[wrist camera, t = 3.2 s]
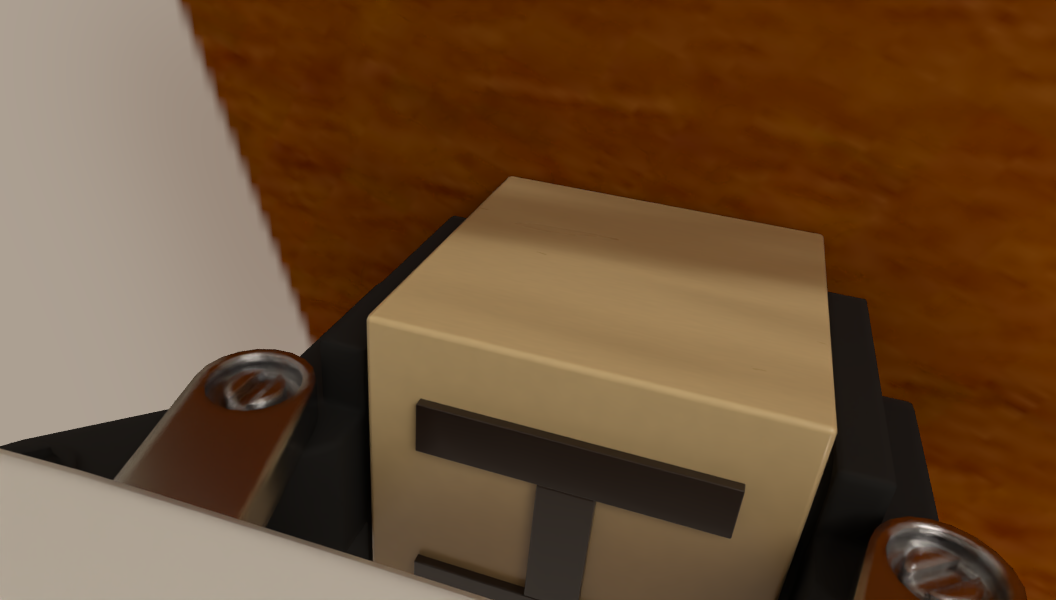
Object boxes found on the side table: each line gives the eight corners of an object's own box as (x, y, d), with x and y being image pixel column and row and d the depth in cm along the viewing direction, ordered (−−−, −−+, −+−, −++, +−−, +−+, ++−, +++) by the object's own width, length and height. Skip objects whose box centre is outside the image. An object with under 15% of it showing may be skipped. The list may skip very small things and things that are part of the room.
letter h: (508, 174, 11) (357, 321, 7) (825, 233, 10) (840, 438, 6) (492, 415, 13) (367, 626, 9) (750, 483, 12) (728, 749, 8)
